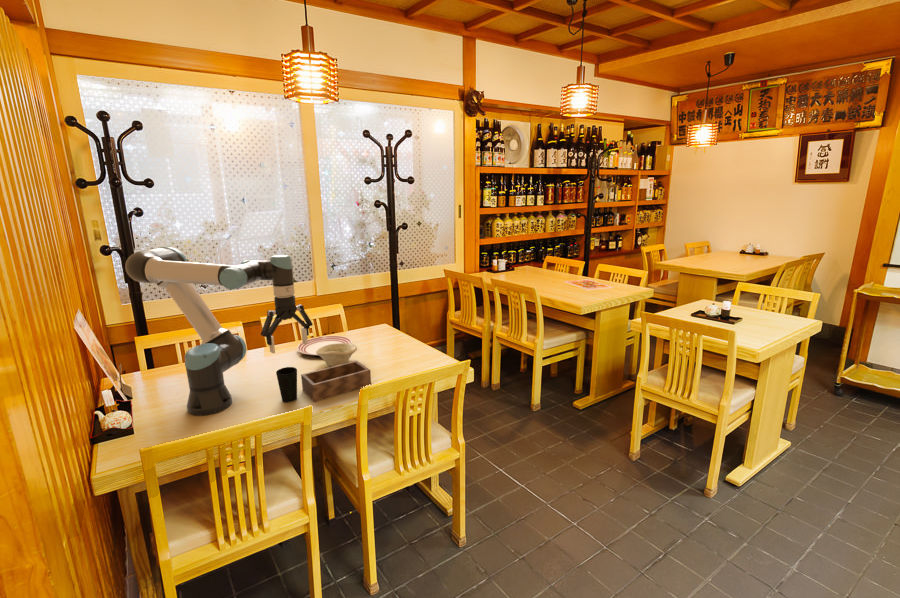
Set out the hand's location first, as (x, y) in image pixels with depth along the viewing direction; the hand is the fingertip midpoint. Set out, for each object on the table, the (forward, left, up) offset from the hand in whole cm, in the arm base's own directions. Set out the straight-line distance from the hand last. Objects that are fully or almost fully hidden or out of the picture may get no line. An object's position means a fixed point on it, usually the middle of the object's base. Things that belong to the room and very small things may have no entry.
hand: (289, 348), depth 176 cm
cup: (-3, -4, -20) cm, 20 cm away
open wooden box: (+16, -6, -20) cm, 26 cm away
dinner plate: (+30, +42, -20) cm, 55 cm away
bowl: (+27, +19, -20) cm, 38 cm away
